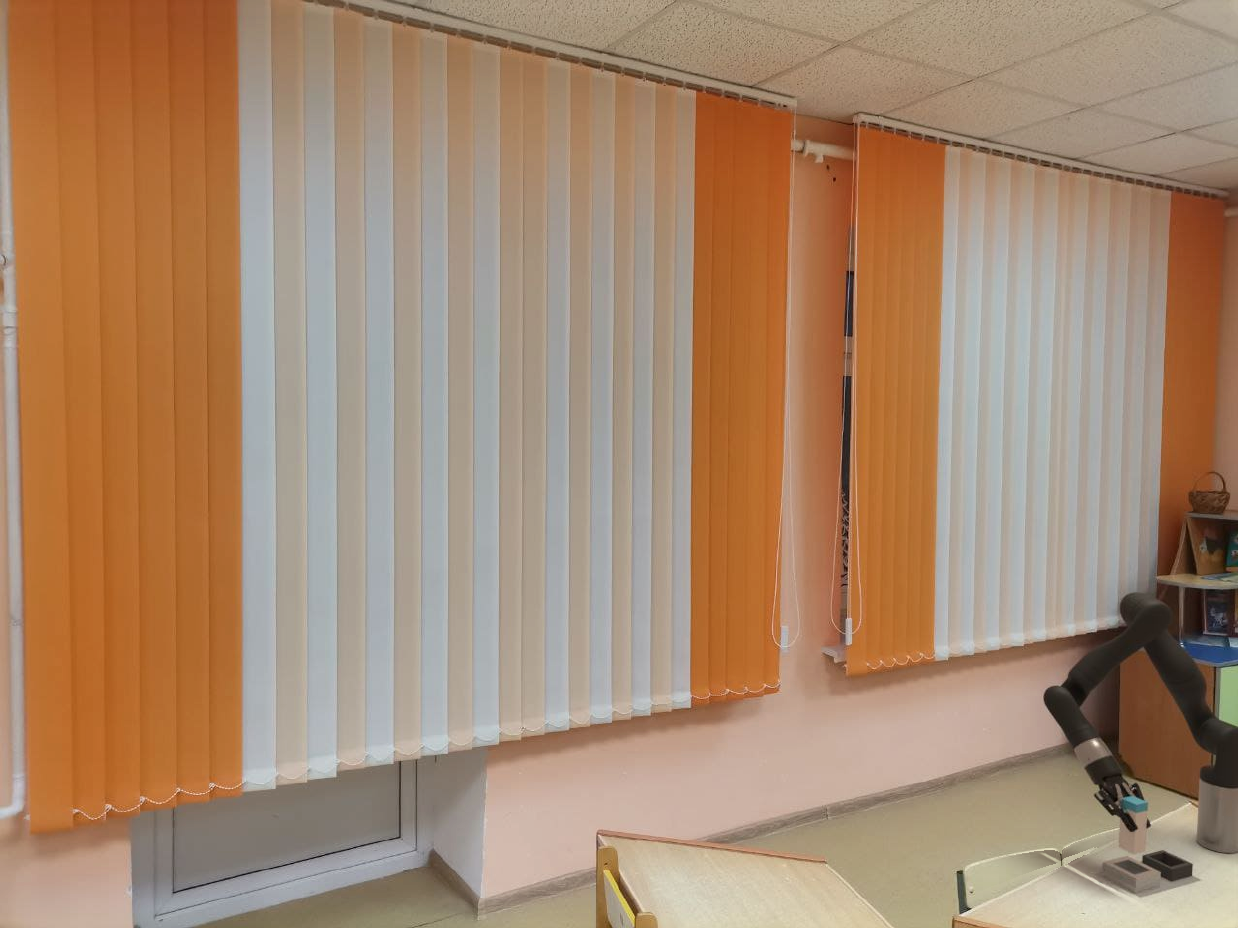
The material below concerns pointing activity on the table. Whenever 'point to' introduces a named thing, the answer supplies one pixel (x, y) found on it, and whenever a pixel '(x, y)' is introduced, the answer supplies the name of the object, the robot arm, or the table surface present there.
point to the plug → (1138, 812)
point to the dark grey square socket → (1168, 865)
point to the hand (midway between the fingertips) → (1140, 828)
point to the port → (1131, 874)
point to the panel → (1164, 884)
